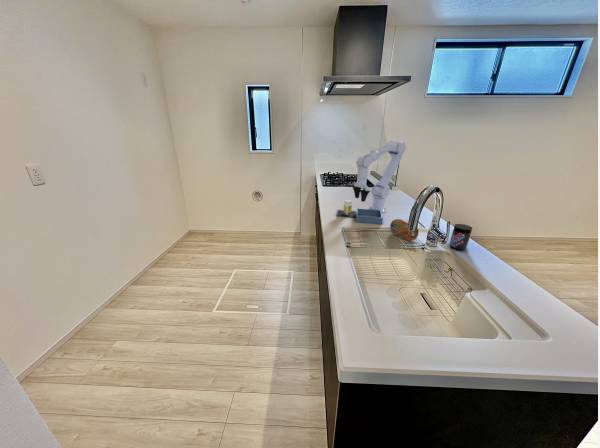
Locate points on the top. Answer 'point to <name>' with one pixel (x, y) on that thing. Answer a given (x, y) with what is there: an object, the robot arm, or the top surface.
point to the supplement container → (460, 237)
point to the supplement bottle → (347, 207)
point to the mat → (341, 214)
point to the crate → (369, 219)
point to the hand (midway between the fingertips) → (359, 199)
